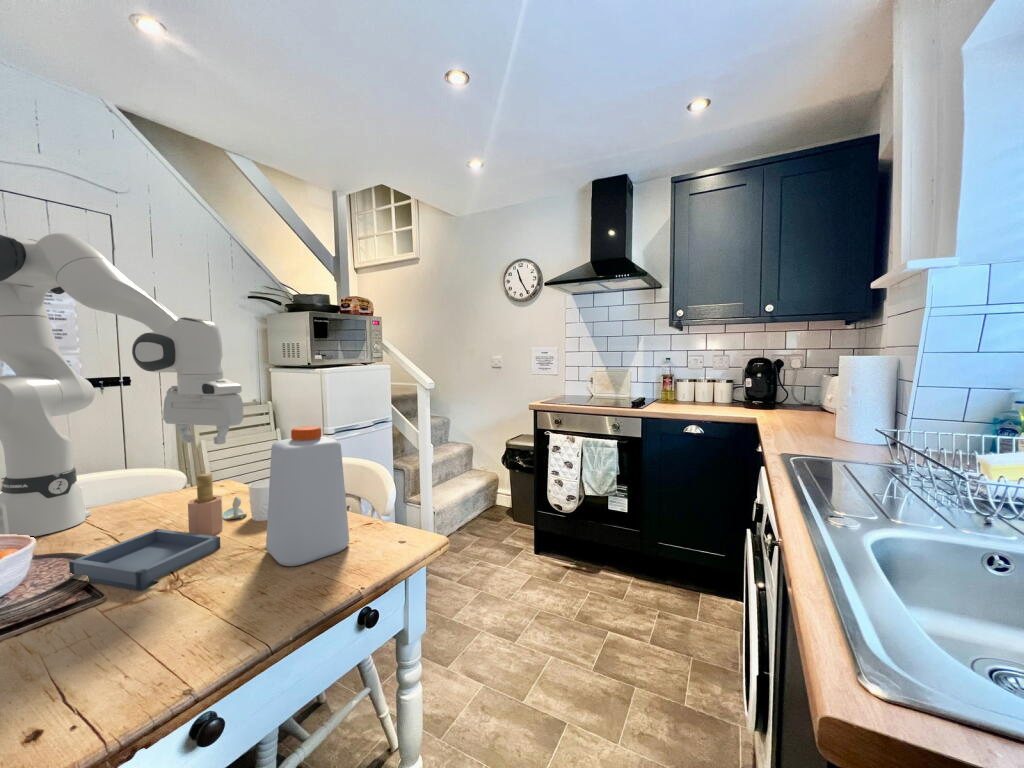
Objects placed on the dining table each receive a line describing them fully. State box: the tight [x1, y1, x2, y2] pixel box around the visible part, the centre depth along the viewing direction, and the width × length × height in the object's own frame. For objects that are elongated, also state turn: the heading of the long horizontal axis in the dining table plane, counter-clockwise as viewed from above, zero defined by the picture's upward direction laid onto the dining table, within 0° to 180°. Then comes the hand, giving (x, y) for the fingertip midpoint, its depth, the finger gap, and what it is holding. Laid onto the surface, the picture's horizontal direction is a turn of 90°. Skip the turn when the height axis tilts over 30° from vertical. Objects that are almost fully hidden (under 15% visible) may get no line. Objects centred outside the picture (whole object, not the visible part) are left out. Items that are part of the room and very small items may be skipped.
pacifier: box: [222, 496, 248, 520], centre depth 108 cm, size 7×6×6 cm
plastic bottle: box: [265, 425, 350, 567], centre depth 92 cm, size 15×15×28 cm
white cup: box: [248, 478, 270, 522], centre depth 109 cm, size 8×8×10 cm
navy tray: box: [68, 528, 221, 592], centre depth 85 cm, size 18×16×4 cm
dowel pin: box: [196, 473, 214, 503], centre depth 98 cm, size 3×3×14 cm
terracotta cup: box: [187, 494, 224, 536], centre depth 99 cm, size 6×6×9 cm
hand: (203, 443), depth 98 cm, fingers open, 8 cm apart
